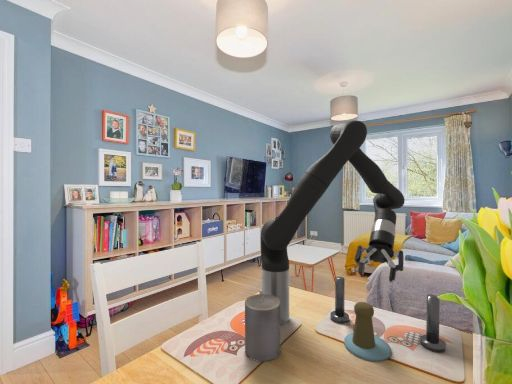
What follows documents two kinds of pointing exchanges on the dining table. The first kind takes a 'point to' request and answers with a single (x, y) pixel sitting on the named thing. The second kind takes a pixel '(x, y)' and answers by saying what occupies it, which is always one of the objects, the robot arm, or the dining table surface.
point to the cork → (363, 326)
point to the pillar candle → (262, 327)
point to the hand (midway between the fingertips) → (375, 277)
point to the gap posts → (432, 319)
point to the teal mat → (375, 354)
